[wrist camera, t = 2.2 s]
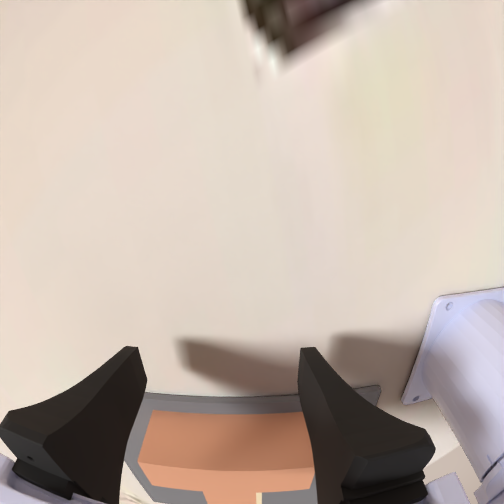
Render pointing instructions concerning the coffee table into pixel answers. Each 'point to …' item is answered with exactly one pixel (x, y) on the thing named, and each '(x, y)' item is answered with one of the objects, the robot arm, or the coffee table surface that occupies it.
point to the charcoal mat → (189, 500)
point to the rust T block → (228, 454)
